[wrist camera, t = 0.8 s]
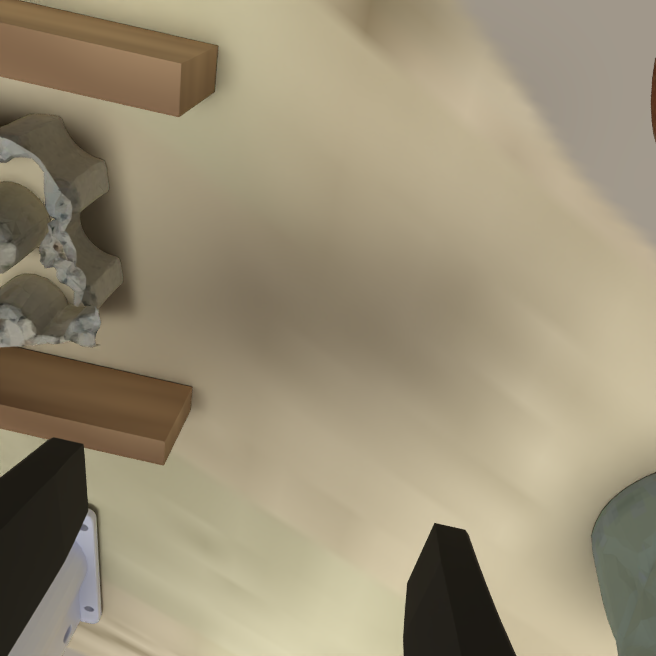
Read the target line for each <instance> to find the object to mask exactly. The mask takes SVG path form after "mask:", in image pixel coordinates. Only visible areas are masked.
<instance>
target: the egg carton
mask: <svg viewBox="0 0 656 656" xmlns="http://www.w3.org/2000/svg"><path fill="white" fill-rule="evenodd" d="M15 157H25V158H32V159H33V160H34V161H35V162H36V163H37V164H38V165H39V167H40V168H41V169H42V170H43V172H44V194H45V206H46V208H45V206H44V205H43V203H42V202H41V201H40V199H39V198H38V197H37V196H36V195H35V194H33V193H32V192H31V191H30V190H29V189H27V188H26V187H24V186H22V185H20V184H17V183H13V182H5V181H3V182H0V273H4V272H6V271H7V270H9V269H10V268H11V267H13V266H14V265H16V264H17V263H18V262H20V261H21V260H22V259H23V258H24V257H25V256H27V255H28V254H29V253H30V252H31V251H33V250H34V249H35V248H36V247H38V246H39V245H40V247H39V252H40V253H39V254H41V258H40V262H41V263H42V264H43V265H44V267H45V268H50V267H55V269H56V270H57V278H58V280H59V281H60V282H61V283H63V284H66V285H67V286H69V287H70V288H71V289H72V290H74V305H73V304H69V303H68V302H67V299H66V297H65V296H64V294H63V292H62V291H61V290H60V289H59V288H58V287H57V286H56V285H55V284H53V283H52V282H51V281H50V280H48V279H46V278H44V277H41V276H38V275H35V274H23V275H19V276H16V277H14V278H13V279H11V280H10V281H9V282H7V283H6V284H4V285H3V286H2V287H0V347H14V346H33V345H40V344H45V343H50V344H60V343H65V342H70V341H72V342H74V343H77V344H79V345H81V346H84V347H95V346H99V345H98V344H96V342H95V337H96V333H97V331H98V329H99V328H100V324H101V321H100V316H99V311H98V309H99V308H100V307H101V306H102V304H103V303H104V302H105V301H106V299H107V298H108V297H109V296H110V295H111V294H112V293H113V292H114V291H115V290H116V288H117V287H118V286H120V285H121V284H122V283H123V273H122V269H121V261H120V259H119V258H118V257H116V256H113V255H110V254H107V253H105V252H103V251H101V250H100V249H98V248H97V247H96V246H95V245H94V244H93V243H92V242H91V241H90V240H89V239H88V237H87V236H86V235H85V233H84V231H83V228H82V226H81V221H80V214H81V211H82V210H84V209H85V208H86V207H87V206H88V205H90V204H91V203H92V202H94V201H95V200H96V199H98V198H99V197H101V196H102V195H104V194H105V193H107V192H108V191H109V182H108V176H107V167H106V165H105V161H104V160H102V159H99V158H96V157H93V156H92V155H90V154H88V153H86V152H85V151H84V150H82V149H81V148H80V147H78V146H77V145H76V144H75V142H74V141H73V140H72V139H71V137H70V136H69V134H68V132H67V130H66V128H65V126H64V124H63V121H62V118H61V117H59V116H56V115H47V114H29V115H26V116H25V117H22V118H19V119H17V120H15V121H13V122H11V123H9V124H7V125H5V126H1V127H0V162H2V163H7V162H8V161H10V160H11V159H13V158H15ZM49 215H50V216H51V217H53V218H55V220H53V221H51V220H50V218H49ZM84 306H86V307H84Z"/></svg>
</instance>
